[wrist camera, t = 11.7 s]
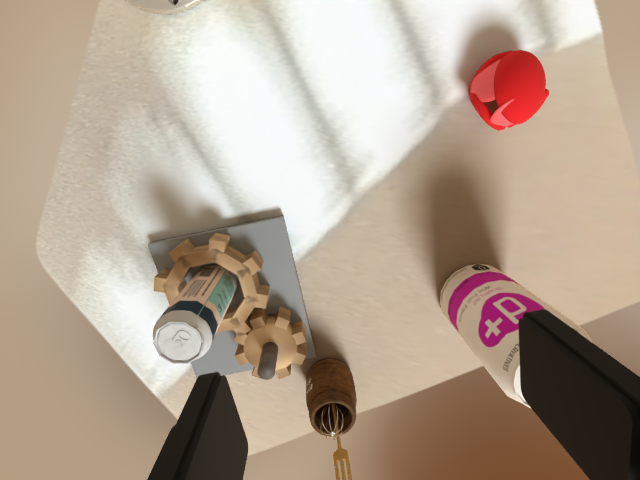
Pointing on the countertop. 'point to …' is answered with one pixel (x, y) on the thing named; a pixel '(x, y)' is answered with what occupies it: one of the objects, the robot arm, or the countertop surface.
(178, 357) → the beer can
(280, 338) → the small gear
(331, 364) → the utensil holder
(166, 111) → the countertop surface
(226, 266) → the oak gear
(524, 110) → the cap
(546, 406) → the robot arm
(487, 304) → the supplement can
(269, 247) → the gear board
